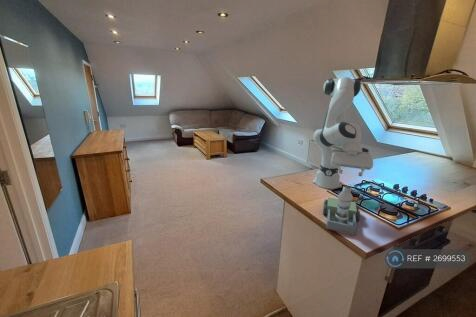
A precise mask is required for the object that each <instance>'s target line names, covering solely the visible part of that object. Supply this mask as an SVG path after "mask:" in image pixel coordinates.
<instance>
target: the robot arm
mask: <svg viewBox="0 0 476 317" xmlns="http://www.w3.org/2000/svg"><path fill="white" fill-rule="evenodd" d="M361 89H362V82H361V80H359V79H356V78H351V77H349V76H348V77H347V76H343V77H340V78H332V77H331V78H328V79H326V80H325V82H324V83H323V93H324V95H326V96H332V97H331V98H330V101H329V105H328V109H327V110H326V115H325V119H324V122H323V127H322V128H320V129H319V128H318V129H316V130H315V131H314V133H313V136H312V140H313V142H314V143H315V145H317V146H318V148H319V149H320V151H321V163H320V165H319V170H317V171H316V176H315V178H314V179H313V180H312V183H313V184H315V185H317V186H318V187H319V188H323V189H329V190H331V189H332V190H333V189H338V188H342V184H341V182H340V179H341V175H342V174H343V169H341V167H344V168H352V169H360V170H361V171H359V172H358V177H363V175H364V174H363V173H364V171H365V170H366V171H368V170H369V171H370V170H371V169H373V167H374V159H373V156H372V155H371V153H372V151H371V149H369V148H366V147H363V146H362V144H361V142H362V129H361V126H360V125H359V124H358V123H355V122H350V123H349V122H347V109H348V108H349V107H351V106H352V104H353V102H354V98H355V97H356V96H357V95H359V93H360V91H361ZM333 147H337V148H342V149H335V148H334V149H332V148H333ZM340 174H341V175H340Z"/></svg>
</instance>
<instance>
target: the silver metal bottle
mask: <svg viewBox="0 0 476 317" xmlns="http://www.w3.org/2000/svg"><path fill="white" fill-rule="evenodd" d="M351 192H352V186H350V185H347V184H346V185H343V186H342V191H340V192H339V194H338V196H337V199H338V208H337V211H336V214H335V216H334V220H335V222H339V223H343V224H347V223H348V219H349V217H348V214H349V208H350V205H351V202H353V198H354V197H353V194H352V193H351Z"/></svg>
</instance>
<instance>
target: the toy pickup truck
mask: <svg viewBox="0 0 476 317" xmlns="http://www.w3.org/2000/svg"><path fill="white" fill-rule="evenodd" d="M337 208H338V198H335V197H327V199H324V202H323V210H322V214H323V215H327V216H326V219H327V220H326V229H327V230H330V231H335V232H338V233H343V234H348V235H352V236H356V235H357V234H356V232H357V229H358V226H357V221H358V222H359V220H360V216H361V212H360V210H359V209H360V207H359V205H357V203H356V202H355V201H352V202H351V205H350V208H349V214H348V217H349V219H348V223H347V224H343V223H339V222H335V220H334V216H335V214H336V211H337Z"/></svg>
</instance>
